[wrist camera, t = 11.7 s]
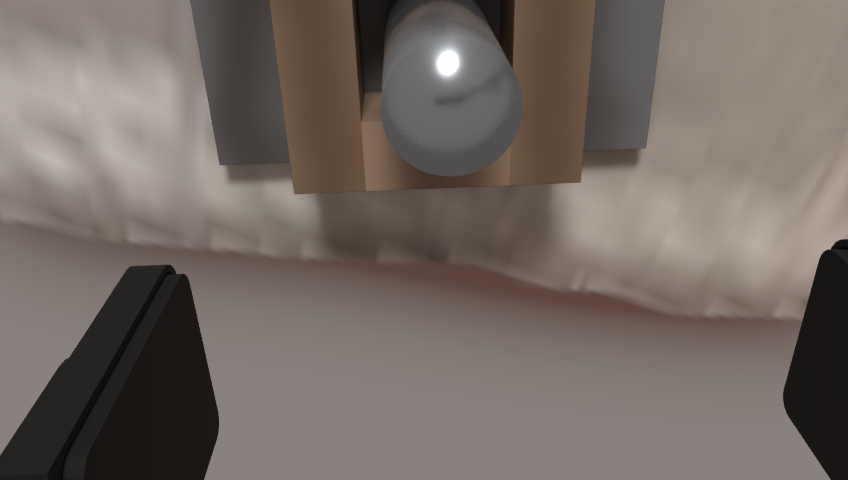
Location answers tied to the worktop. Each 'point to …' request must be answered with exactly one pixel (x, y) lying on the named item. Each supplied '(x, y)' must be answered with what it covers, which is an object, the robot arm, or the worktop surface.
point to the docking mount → (362, 88)
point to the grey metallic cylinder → (447, 87)
